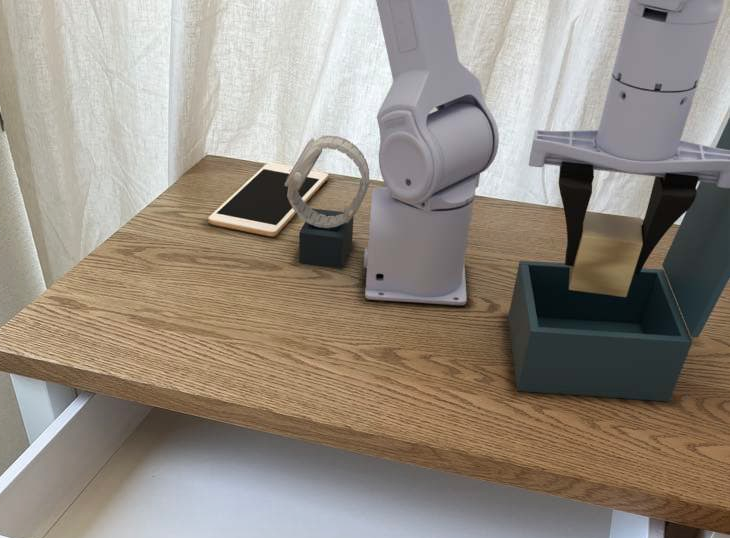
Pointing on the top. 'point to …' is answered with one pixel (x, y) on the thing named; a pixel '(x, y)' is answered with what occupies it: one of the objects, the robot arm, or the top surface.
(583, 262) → the block
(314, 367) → the top surface
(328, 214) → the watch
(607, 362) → the chest
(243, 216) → the cell phone
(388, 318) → the top surface
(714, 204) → the lid
